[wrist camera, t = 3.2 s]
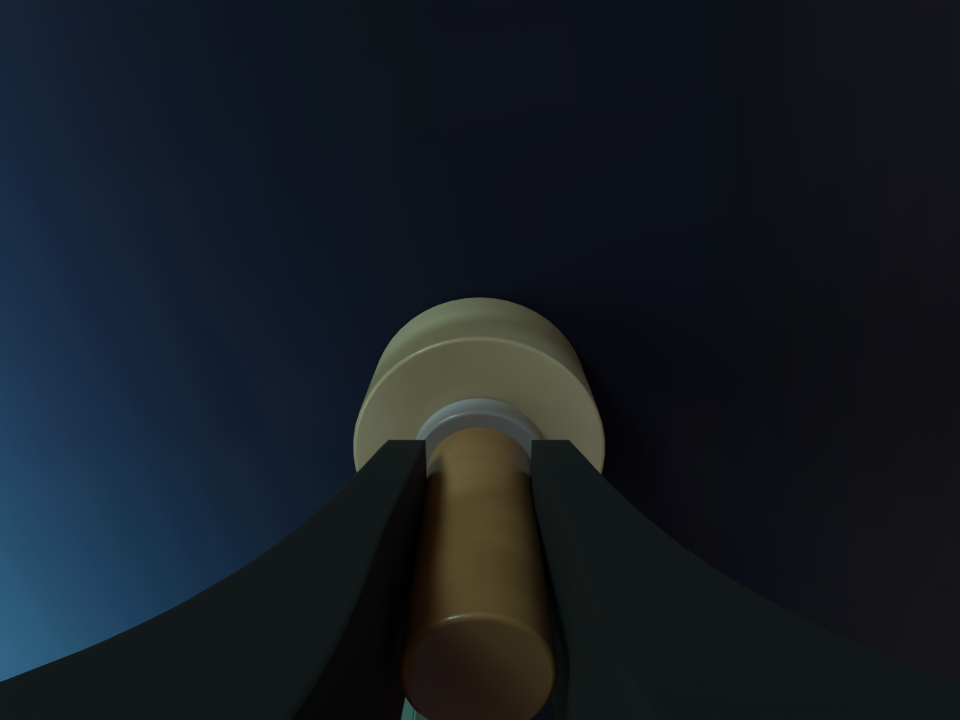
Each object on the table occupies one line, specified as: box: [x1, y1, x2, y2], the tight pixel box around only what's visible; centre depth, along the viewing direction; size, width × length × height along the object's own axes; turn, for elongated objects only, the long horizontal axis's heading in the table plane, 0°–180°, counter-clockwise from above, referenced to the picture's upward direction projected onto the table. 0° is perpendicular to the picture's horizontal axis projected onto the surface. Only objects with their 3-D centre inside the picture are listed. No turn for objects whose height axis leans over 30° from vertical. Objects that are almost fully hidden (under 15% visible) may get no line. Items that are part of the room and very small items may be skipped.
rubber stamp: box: [354, 298, 605, 720], centre depth 11 cm, size 5×5×8 cm
